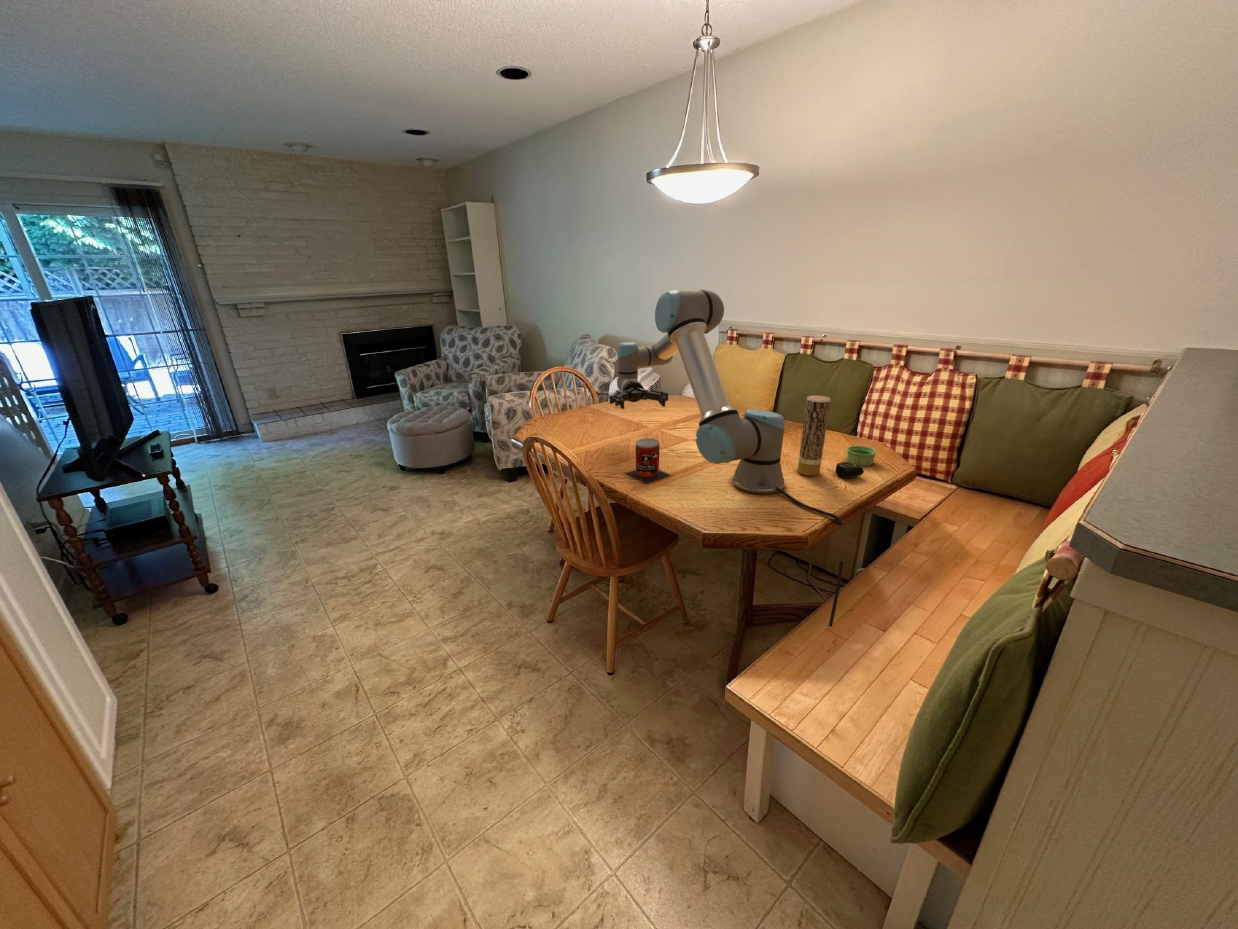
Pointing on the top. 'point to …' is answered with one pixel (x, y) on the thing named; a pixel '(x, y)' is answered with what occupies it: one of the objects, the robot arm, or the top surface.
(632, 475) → the coaster
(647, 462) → the canned food
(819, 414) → the paper tube
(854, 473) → the tape measure
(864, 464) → the ramekin
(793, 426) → the top surface
